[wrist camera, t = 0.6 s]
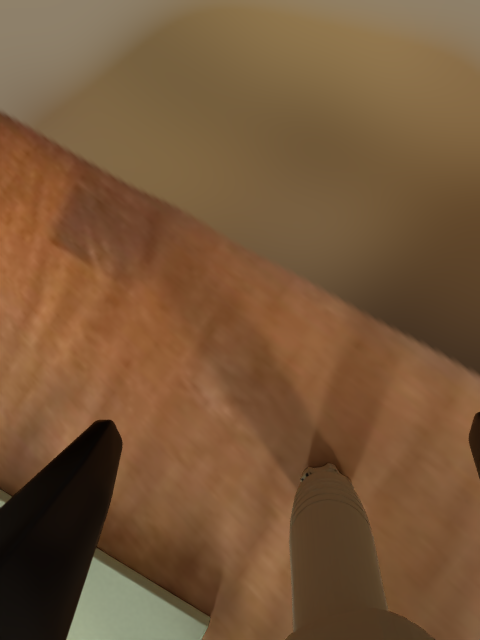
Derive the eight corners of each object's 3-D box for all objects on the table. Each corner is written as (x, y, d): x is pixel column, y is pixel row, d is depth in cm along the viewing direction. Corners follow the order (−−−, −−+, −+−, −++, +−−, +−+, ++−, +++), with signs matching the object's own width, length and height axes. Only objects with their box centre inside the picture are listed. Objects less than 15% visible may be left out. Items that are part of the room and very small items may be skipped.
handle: (260, 493, 25) (202, 760, 10) (331, 422, 24) (376, 603, 10) (317, 548, 25) (340, 909, 10) (390, 478, 24) (535, 759, 9)
